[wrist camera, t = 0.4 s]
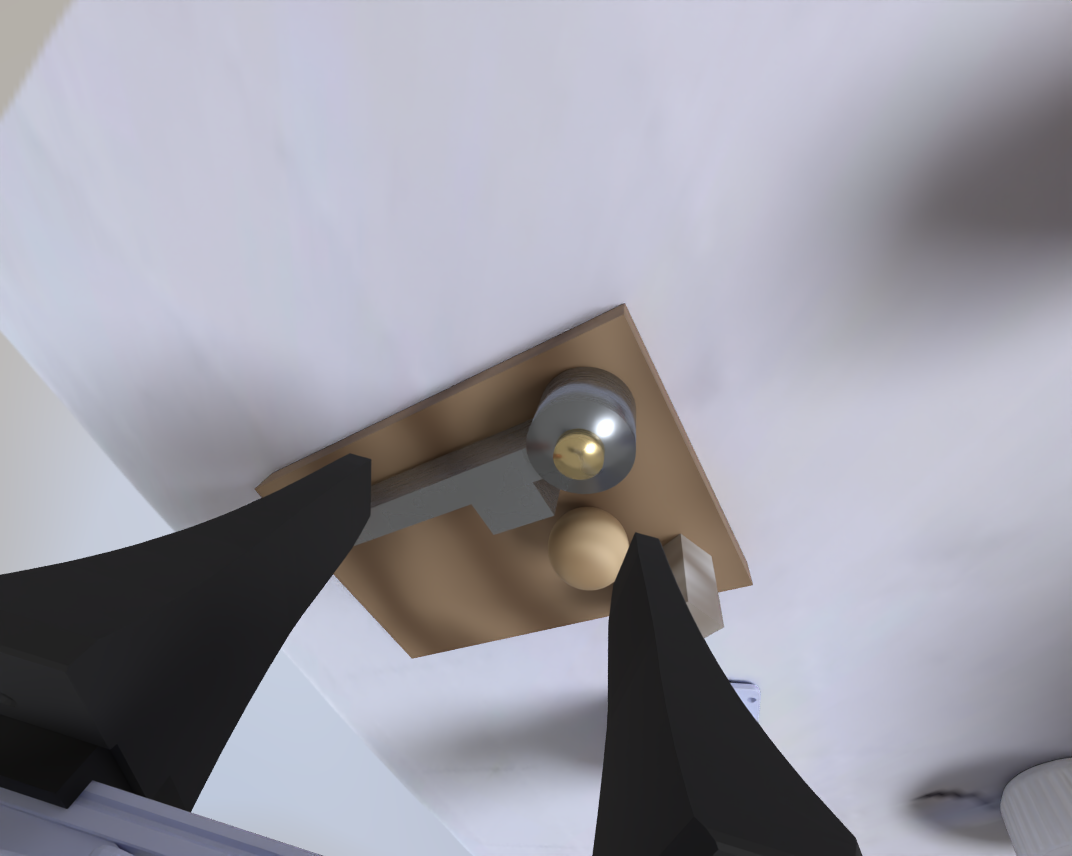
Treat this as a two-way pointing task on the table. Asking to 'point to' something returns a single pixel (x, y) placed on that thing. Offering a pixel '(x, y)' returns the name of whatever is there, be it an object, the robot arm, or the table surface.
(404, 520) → the lever
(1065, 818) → the ramekin
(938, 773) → the table surface
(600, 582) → the walnut
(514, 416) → the board
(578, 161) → the table surface
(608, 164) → the table surface
